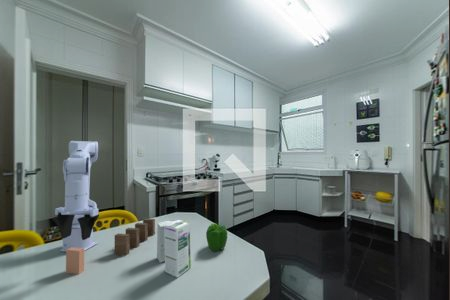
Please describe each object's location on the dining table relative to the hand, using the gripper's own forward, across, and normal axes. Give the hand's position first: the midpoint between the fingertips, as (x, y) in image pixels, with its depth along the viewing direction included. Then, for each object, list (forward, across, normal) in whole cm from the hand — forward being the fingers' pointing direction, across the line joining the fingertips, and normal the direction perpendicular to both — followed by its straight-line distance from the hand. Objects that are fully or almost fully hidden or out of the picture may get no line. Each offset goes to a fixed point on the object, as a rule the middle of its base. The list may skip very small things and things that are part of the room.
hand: (76, 237), depth 56 cm
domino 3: (+10, +7, +17) cm, 21 cm away
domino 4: (+10, +7, +22) cm, 26 cm away
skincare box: (+11, +25, +12) cm, 30 cm away
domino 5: (+10, +7, +28) cm, 31 cm away
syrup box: (+11, +32, +6) cm, 34 cm away
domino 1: (+10, 0, 0) cm, 11 cm away
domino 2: (+10, +7, +11) cm, 17 cm away
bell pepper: (+11, +41, +21) cm, 47 cm away
